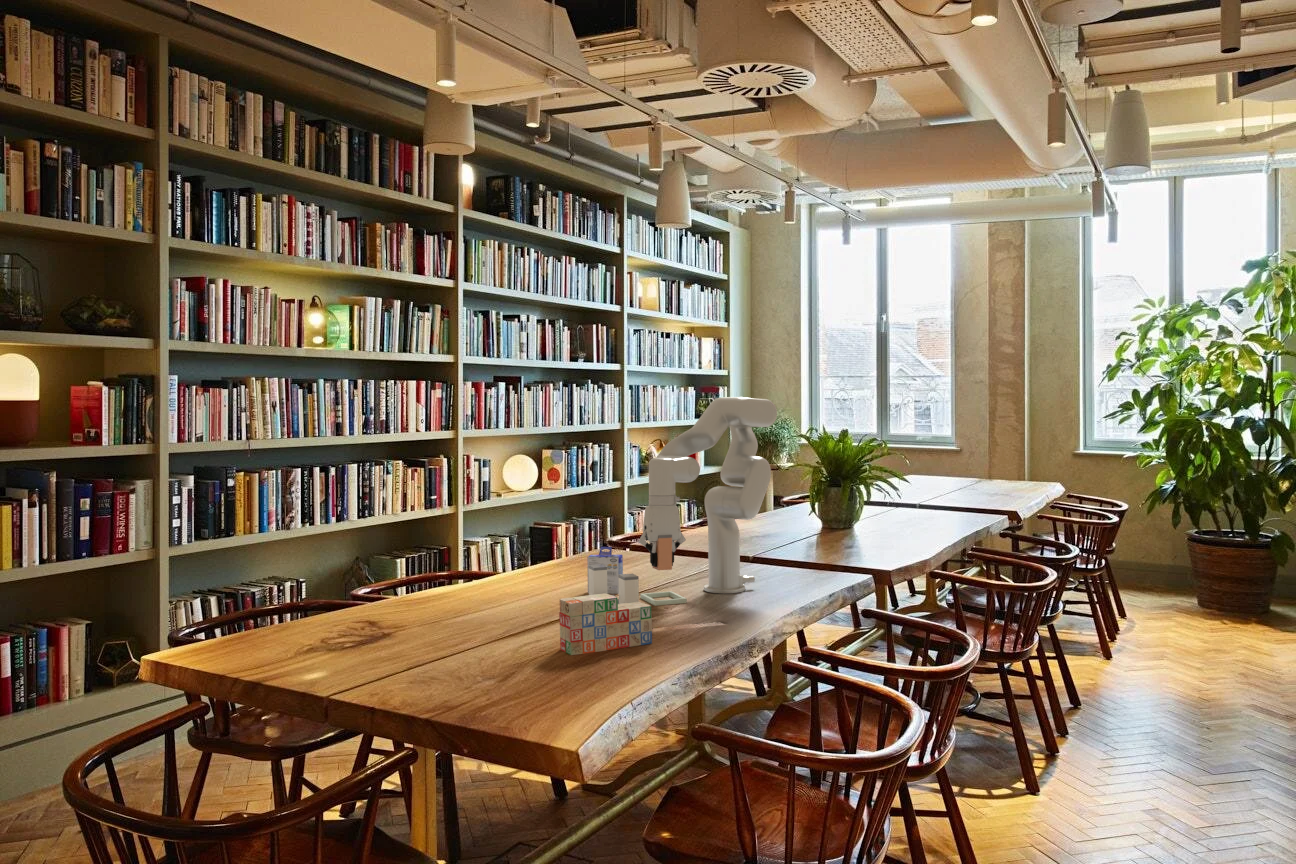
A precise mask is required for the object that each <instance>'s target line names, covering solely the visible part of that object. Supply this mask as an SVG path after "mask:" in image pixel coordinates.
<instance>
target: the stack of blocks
mask: <svg viewBox="0 0 1296 864" xmlns="http://www.w3.org/2000/svg"><path fill="white" fill-rule="evenodd" d="M612 595H613V594H606V593H604V594H596V595H589V594H587V595H581V596H574V597H563V598H560V599H559V612H558V613H559V615H558V618H559V620H558V621H559V636H560V638H559V641H560V643H559V649H560V651H562V652H564V653H566V654H568V655H570V656H575V655H581V654H582V655H583V654H589V653H590V654H591V653H597V652H604V651H610V650H611V651H612V650H617V649H623V648H625V649H626V648H629V647H637V646H638V647H639V646H644V645H645V646H646V645H651V644H653V619H652V605H649V604H647V603H644V602H640V601H639V602H633V603H623V604H618V599H619V596H612Z"/></svg>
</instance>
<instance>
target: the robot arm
mask: <svg viewBox="0 0 1296 864" xmlns="http://www.w3.org/2000/svg"><path fill="white" fill-rule="evenodd" d="M777 416H778V410H777V406H776V405H775V404H774V402H773V401H771V400H770V399H767V398H753V397H752V398H751V397H747V396H746V397H743V396H728V397H727V396H724V397H723V396H722V397H718V398H717V397H716V398H715V399H713V400H712V401H711V402H710V404H709V405H708V406H707V408H706V409H705V410H704V411H703V413H702V414H701V415H700V417H699V418H698V419H697V421H696V422H695V424H694V425H693V426H692V427H691V428H689V429H687V430H685V431H683V432H682V433H681V434H679V435H677V436H676V437H674V438H672V439H671V440H670V441H668V442H667V443H666V444H665V445H664V446H663V447H662V448H661V450H660V451H659V453H658V454H657V456H656V457H652V458H650V459H649V462H648V505H646V506H645V509H644V516H643V523H642V524H643V526H642V534H641V536H640V538H639V540H638V543H639V544H640V545H642V546H643V547H644V548H646V549H647V550H648V551H649V563H650V565H651V566H652V568H653V567H657V553H656V547H657V542H658V535H672V567H674V563H675V552H676V551H677V549H678V548H679V547H680V546H681V544H683V543H684V542H685V541H686V538H685V537H686V536H684V534H683V533H682V531H681V519H680V512H679V507H678V505H676V504H677V502H680V501H681V497H680V496H677V495H676V483H691V482H693V481H695V480H696V479H697V478H698V477H699V476H700V473H701V465H700V464H699V462H698V460H696V459H695V458H694V457H691V455H693V454H697V453H701V452H704V451H707V450H709V449H711V448H713V447H714V446H715V445H716V444H717V443H718V442H719V440H720V439H721V437H722V436H723V434H724V433H725V432H726V430H727V429H728V428H729V430H730V435H731V441H730V444H729V447H728V450H727V453H726V455H725V458H724V461H723V463H722V466H721V469H720V480H721V481H722V482H723V483H724V484H725V485H726V486H725V485H724V486H723V485H722V486H721V485H720V486H714V487H712V488H710V489H708V491H707V492H706V494H705V496H704V509H705V514H706V519H707V531H708V532H707V539H708V541H707V543H708V544H707V548H708V553H707V555H708V556H707V558H708V560H707V561H708V564H707V565H708V583H707V584H704V585H703V591H705V592H707V593H711V594H738V593H743V592H744V591H746V586H745V584H748V583H755V582H756V581H755V579H756V578H755V575H754V576H753V575H749V576H747V575H743V574H741V566H740V565H741V559H740V557H741V554H740V551H741V549H740V547H741V546H740V545H741V543H740V539H741V537H740V536H741V535H740V528H739V526H738V523H737V522H736V520H744V521H750V520H752V519H754V518H755V517H757V515H758V513H759V512H760V510H761V506H762V504H763V501H764V499H765V496H766V493H767V490H768V487H769V486H770V485H769V484H770V481H771V477H772V476H771V475H772V468H771V465H770V463H769V461H768V460H767V459H766V458H764V457H762V456H757V455H756V454H757V451H758V448H759V447H758V446H759V444H758V440H757V437H756V434H755V433H754V431H753V429H752V428H769V427H771V426H772V425H773V424H774V423H775V421H776V420H777ZM727 485H728V486H727ZM647 541H649V543H648V542H647Z"/></svg>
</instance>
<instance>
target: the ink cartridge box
mask: <svg viewBox="0 0 1296 864" xmlns="http://www.w3.org/2000/svg"><path fill="white" fill-rule="evenodd" d="M612 548H613V547H612V546H600V548H599V552H598V554H590V555H588V556H587V561H586V562H587V594H589V565H600V564H602V565H604V566H606V567H607V594H609V595H619V577H618V574H624V571H623V569H624V567H623V565H624V564H623V563H624V562H623V559H624V558H623V554H612V552H613V549H612ZM603 550H609V551H603Z"/></svg>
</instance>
